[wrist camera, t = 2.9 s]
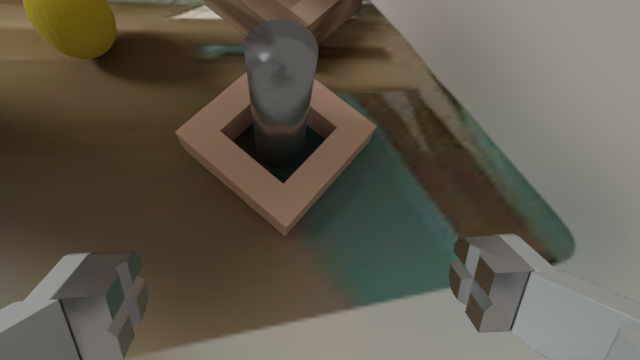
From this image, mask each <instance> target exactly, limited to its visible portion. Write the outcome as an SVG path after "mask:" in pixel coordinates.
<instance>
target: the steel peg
mask: <svg viewBox="0 0 640 360" xmlns="http://www.w3.org/2000/svg"><path fill="white" fill-rule="evenodd" d="M244 53H245V62H246V70H247V79H248V87H249V95H250V104H251V112H252V120H253V129H254V137H255V146H256V152H257V155H258V156H259V158H260V159H261V160H262V161H263V162H264V163H265V164H267V165H268V166H271V167H274V168H285V167H288V166H291V165H293V164H294V163H296V162H297V161H298V159H299V158H300V157H301V154H302V151H303V145H304V139H305V133H306V127H307V121H308V114H309V108H310V102H311V96H312V89H313V83H314V77H315V71H316V65H317V58H318V44H317V41H316V39H315V37H314V36H313V34H312V33H311V32H310V31H309V30H308V29H307V28H305V27H304V26H302V25H301V24H299V23H296V22H294V21H290V20H285V19H273V20H268V21H264V22H262V23H260V24H258V25H256V26H255V27H254V28H252V29H251V30H250V32H249V33H248V35H247V36H246V39H245V42H244Z"/></svg>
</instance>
